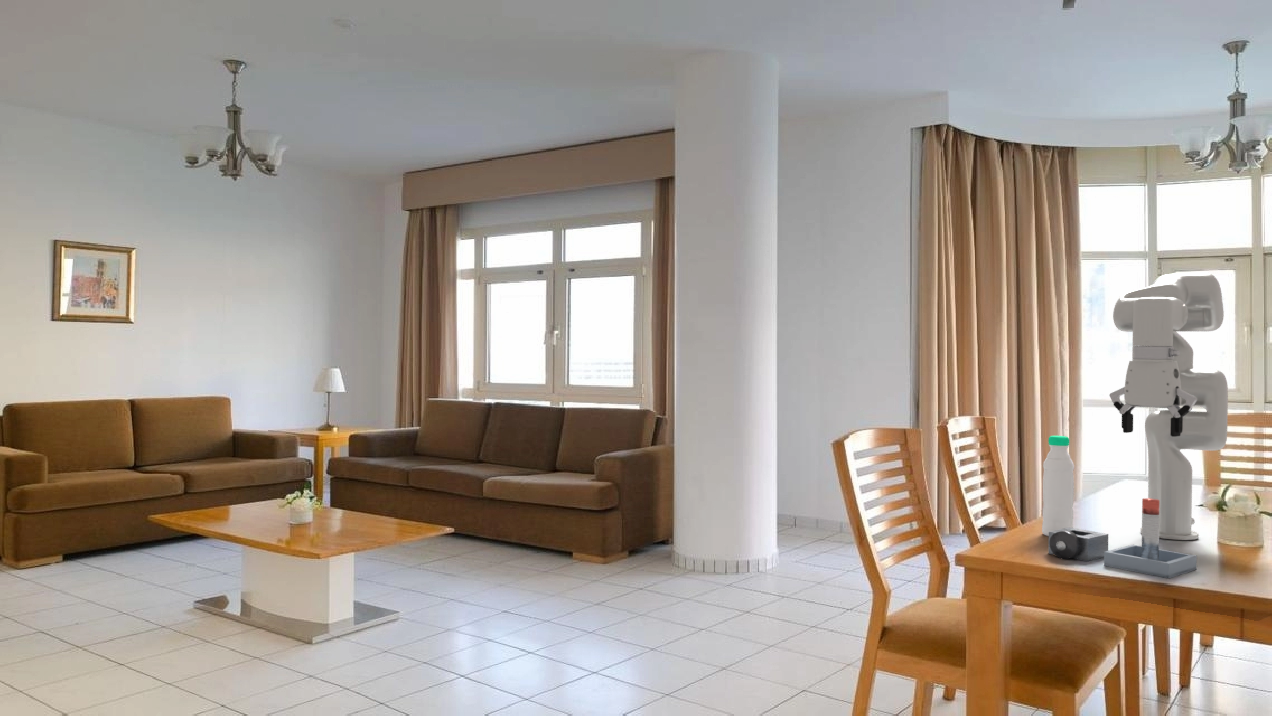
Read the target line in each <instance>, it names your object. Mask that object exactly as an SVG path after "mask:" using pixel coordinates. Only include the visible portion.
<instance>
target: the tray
mask: <svg viewBox="0 0 1272 716" xmlns="http://www.w3.org/2000/svg"><path fill="white" fill-rule="evenodd" d="M1141 552H1142V545H1138V544H1130V545H1126V546H1120V547H1116V548H1114V549H1110V550H1109V549H1108V551H1105V552H1104V557H1103V561H1104V562H1103V566H1105V567H1110V568H1115V569H1119V570H1124V571H1131V572H1135V573H1140V574H1145V575H1150V576H1155V577H1158V578H1159V577H1161V578H1166V579H1171V578H1174V577H1178V576H1181V575H1183V574H1187V573H1190V572H1193V571H1196V570H1197V559H1198V558H1197V555H1196V554H1190V553H1184V552H1178V551H1171V550H1168V549H1167V550H1166V549H1161V548H1159V561H1157V560H1152V559H1147V558H1141Z"/></svg>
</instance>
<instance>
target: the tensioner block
mask: <svg viewBox="0 0 1272 716" xmlns="http://www.w3.org/2000/svg"><path fill="white" fill-rule="evenodd" d="M1105 551H1109V533H1104V532H1098V531H1092V530H1086V529H1082V528H1081V529H1080V528H1075V527H1073V528H1070V527H1069V528H1064V529H1059V530H1055V531H1050V532H1049V536H1048V553H1049V554H1050V555H1053V554H1054V556H1055V557H1057V558H1059V559H1061V558H1062V560H1068V559H1074V560H1079V561H1085V562H1091V561H1095V560H1098V559H1104V552H1105Z"/></svg>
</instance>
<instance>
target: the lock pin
mask: <svg viewBox="0 0 1272 716" xmlns="http://www.w3.org/2000/svg"><path fill="white" fill-rule="evenodd" d="M1141 501H1142V502H1141V503H1142V506H1141V507H1142V508H1141V528H1142V533H1141V546H1142V552H1141V558H1147V559H1152V560H1157V561H1159V549H1160V538H1159V506H1160V500H1158V499H1151V498H1148V497H1146V498H1145V497H1144V498H1142V500H1141Z"/></svg>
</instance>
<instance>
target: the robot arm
mask: <svg viewBox="0 0 1272 716" xmlns="http://www.w3.org/2000/svg"><path fill="white" fill-rule="evenodd" d="M1222 294H1223V293H1222V289H1221V284H1220V283H1219V280H1218V278H1216V277H1215V275H1213V274H1211V273H1209V272H1194V273H1193V272H1192V273H1191V272H1188V273H1187V272H1186V273H1169V274H1168V273H1167V274H1163V275H1160V276H1158V277H1157V278H1155V280H1153V281H1152V282H1151V285H1149V286H1147V287H1143V288H1139V289H1133V290H1131V291H1127V292H1125V293H1123V294H1122V295H1120V296H1119V298H1118V299H1117V301H1116V302H1115V305H1114V308H1113V313H1112V319H1113V323H1114V326H1115V327H1116V329H1118V330H1119V331H1121V332H1125V333H1128V332H1132V351H1131V352H1132V359H1131V360H1129V362H1128V364H1127V369H1126V374H1125V381H1124V386H1123V387H1122V388H1119V389H1117V390H1115V391H1112V392H1111V393H1109V397H1110V399H1111V402H1112V403H1113V407H1114V408H1115V409H1117V411H1118V413H1119V414H1120V415H1121V428H1122V433H1123V434H1124V433H1126V434H1127V433H1133V431H1134V414H1133V413H1132V411H1133V410H1134V409H1135V408H1137V407H1140V408H1142V407H1143V408H1154V409H1155V408H1157V409H1161V410H1156V411H1153V412H1151V413H1149V414H1148V415H1147V416H1146V418H1145V422H1144V430H1145V436H1146V444H1147V453H1148V457H1147V459H1148V462H1147V463H1148V470H1147V471H1148V473H1147V476H1148V477H1147V478H1148V480H1147V498H1151V499H1158V500H1160V506H1159V539H1165V540H1173V541H1175V540H1176V541H1194V540H1198V539H1199V536H1200V535H1199V532H1197V531H1194V530H1192V525H1194V524H1195V522H1196V521H1195V519H1194V518H1193V517H1192V515H1193V514H1192V512H1193V509H1192V508H1193V504H1192V503H1193V502H1192V501H1193V467H1192V466H1193V465H1192V464H1191V462H1190V461H1189V459H1188V457H1186V456H1185V455H1184V453H1182V451H1181V450H1194V451H1195V450H1196V451H1211V452H1212V451H1220V450H1222V449H1223V448H1225V446H1226V444H1227V440H1228V421H1229V418H1228V417H1229V416H1228V415H1229V414H1228V413H1229V408H1228V407H1229V404H1228V403H1229V390H1228V389H1229V387H1228V381H1227V378H1226V375H1225V373H1223V372H1222V371H1221V370H1217V369H1213V368H1212V369H1211V368H1194V349H1193V347H1192V346H1191V345H1190V343H1188V341H1187V340H1186V339H1185V338H1184V337H1183V336H1182V335H1181V334H1179V333H1178V332H1213V331H1216V330H1218V329H1220V327H1221V326H1222V324H1223V321H1224V317H1225V316H1224V314H1225V313H1224V312H1225V311H1224V303H1223V295H1222ZM1121 396H1123V397H1124V403H1123V402H1122V401H1121V398H1120V397H1121ZM1193 407H1195V408H1196V407H1197V408H1198V407H1199V408H1204V409H1205V410H1206V411H1195V410H1194V411H1193V410H1192V409H1193ZM1140 533H1141V534H1142V527H1141V528H1140Z"/></svg>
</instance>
